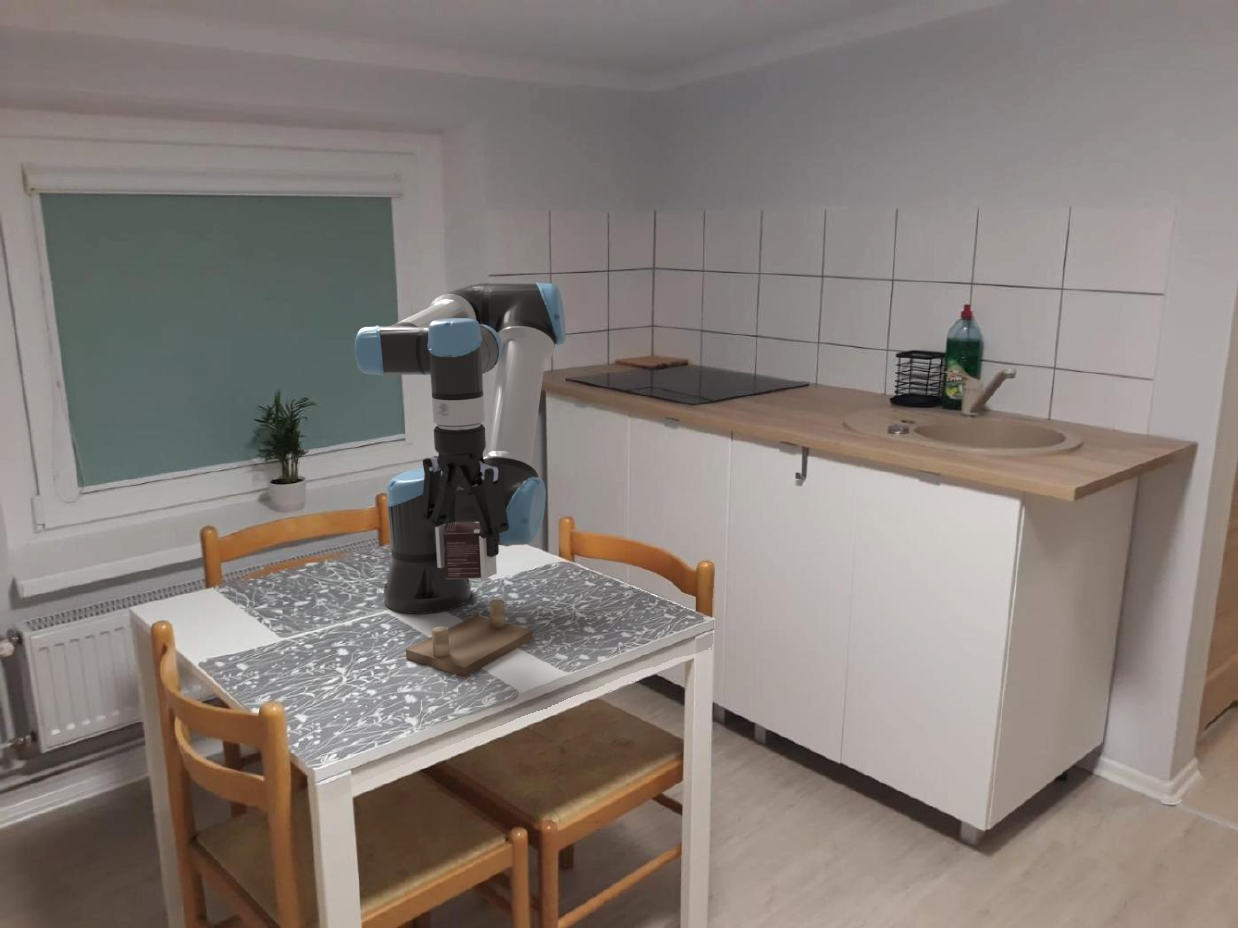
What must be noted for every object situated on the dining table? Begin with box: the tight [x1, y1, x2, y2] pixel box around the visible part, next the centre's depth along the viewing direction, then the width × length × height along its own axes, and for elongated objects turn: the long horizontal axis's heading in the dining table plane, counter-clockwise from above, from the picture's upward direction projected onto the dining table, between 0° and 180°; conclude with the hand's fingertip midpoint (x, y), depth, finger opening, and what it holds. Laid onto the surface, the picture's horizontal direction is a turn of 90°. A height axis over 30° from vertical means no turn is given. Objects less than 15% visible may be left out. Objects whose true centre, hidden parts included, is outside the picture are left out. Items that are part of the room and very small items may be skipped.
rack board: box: [405, 598, 534, 678], centre depth 153 cm, size 12×16×6 cm
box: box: [443, 521, 483, 580], centre depth 149 cm, size 6×6×7 cm
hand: (466, 570), depth 150 cm, fingers closed on box, 8 cm apart
